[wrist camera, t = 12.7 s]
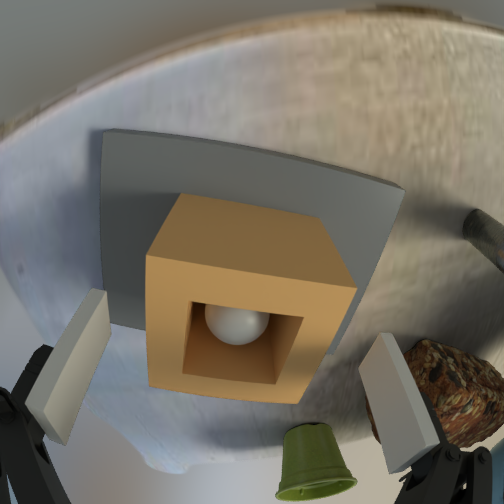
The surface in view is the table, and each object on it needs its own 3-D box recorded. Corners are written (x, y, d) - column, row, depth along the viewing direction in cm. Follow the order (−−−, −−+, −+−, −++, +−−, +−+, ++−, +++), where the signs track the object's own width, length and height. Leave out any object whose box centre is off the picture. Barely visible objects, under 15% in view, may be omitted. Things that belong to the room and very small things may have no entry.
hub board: (395, 183, 18) (462, 234, 11) (329, 341, 25) (350, 416, 18) (113, 128, 16) (41, 155, 9) (113, 310, 22) (80, 383, 16)
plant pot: (356, 427, 33) (369, 483, 26) (298, 452, 36) (304, 504, 29) (320, 407, 30) (333, 475, 22) (255, 435, 33) (258, 496, 25)
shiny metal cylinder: (490, 214, 19) (549, 259, 12) (477, 243, 20) (531, 294, 14) (470, 205, 19) (534, 252, 12) (458, 237, 20) (514, 291, 13)
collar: (319, 218, 17) (357, 288, 11) (284, 321, 21) (297, 403, 15) (181, 192, 16) (146, 255, 10) (171, 304, 20) (149, 386, 14)
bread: (492, 357, 29) (524, 410, 21) (441, 406, 34) (463, 459, 25) (423, 327, 25) (469, 409, 16) (355, 394, 29) (377, 472, 21)
